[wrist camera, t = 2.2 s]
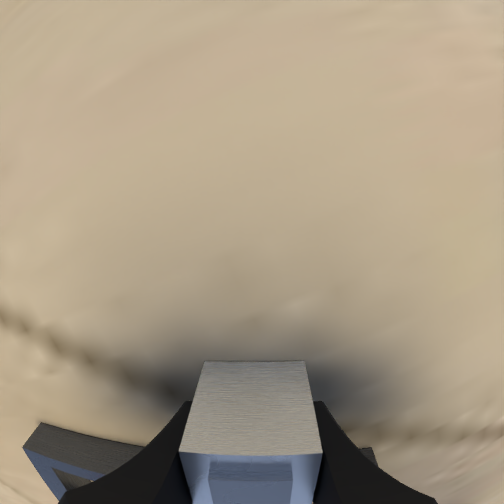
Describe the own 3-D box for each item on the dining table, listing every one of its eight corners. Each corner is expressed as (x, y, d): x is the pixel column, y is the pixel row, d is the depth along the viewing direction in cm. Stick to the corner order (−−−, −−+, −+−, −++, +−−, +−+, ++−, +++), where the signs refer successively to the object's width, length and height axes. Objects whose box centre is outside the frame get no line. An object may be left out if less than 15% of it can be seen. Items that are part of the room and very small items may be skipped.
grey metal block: (298, 429, 13) (309, 523, 8) (212, 429, 13) (195, 522, 8) (304, 360, 12) (324, 462, 7) (204, 360, 12) (175, 461, 7)
